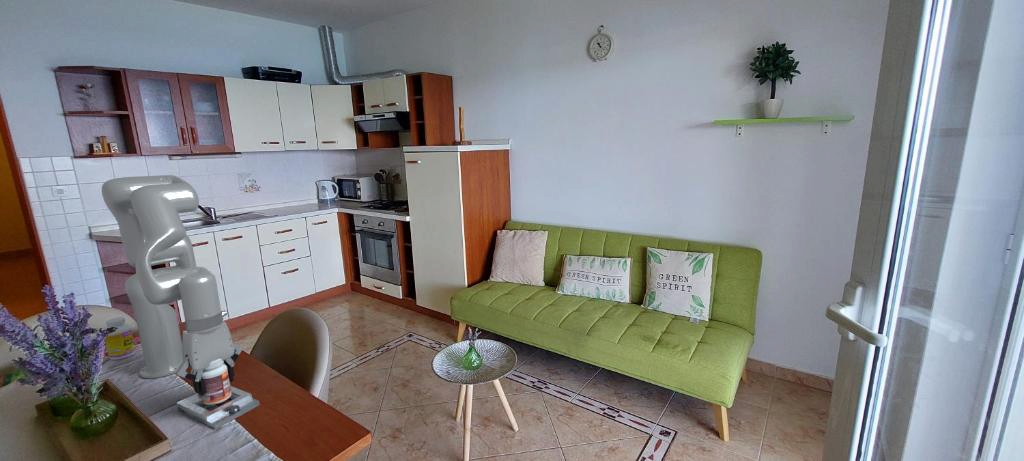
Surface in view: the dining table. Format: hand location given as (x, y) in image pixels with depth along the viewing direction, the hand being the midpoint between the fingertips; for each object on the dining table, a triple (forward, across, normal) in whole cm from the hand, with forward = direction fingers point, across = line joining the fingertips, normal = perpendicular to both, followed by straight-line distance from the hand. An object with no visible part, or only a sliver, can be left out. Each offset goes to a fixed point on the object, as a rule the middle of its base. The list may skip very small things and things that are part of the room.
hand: (215, 386), depth 111 cm
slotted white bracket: (+6, 0, 0) cm, 6 cm away
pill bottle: (+4, 0, 0) cm, 4 cm away
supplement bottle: (+6, -3, -62) cm, 62 cm away
